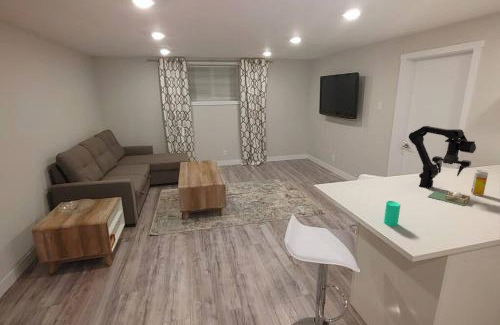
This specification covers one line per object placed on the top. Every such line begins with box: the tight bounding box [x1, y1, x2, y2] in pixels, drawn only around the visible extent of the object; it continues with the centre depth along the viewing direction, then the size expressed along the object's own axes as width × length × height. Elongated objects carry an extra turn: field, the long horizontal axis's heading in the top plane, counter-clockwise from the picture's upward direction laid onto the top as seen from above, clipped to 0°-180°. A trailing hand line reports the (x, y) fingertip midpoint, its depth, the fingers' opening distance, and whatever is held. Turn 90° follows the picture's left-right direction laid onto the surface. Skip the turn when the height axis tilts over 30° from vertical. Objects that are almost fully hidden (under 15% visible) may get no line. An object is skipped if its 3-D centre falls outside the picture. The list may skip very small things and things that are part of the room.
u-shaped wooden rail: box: [445, 191, 471, 205], centre depth 155 cm, size 10×9×2 cm
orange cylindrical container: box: [470, 169, 489, 197], centre depth 163 cm, size 6×6×15 cm
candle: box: [383, 200, 401, 227], centre depth 127 cm, size 6×6×12 cm
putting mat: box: [427, 190, 471, 207], centre depth 159 cm, size 18×14×1 cm
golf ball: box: [452, 191, 463, 198], centre depth 156 cm, size 4×4×4 cm
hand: (448, 174), depth 165 cm, fingers open, 9 cm apart
